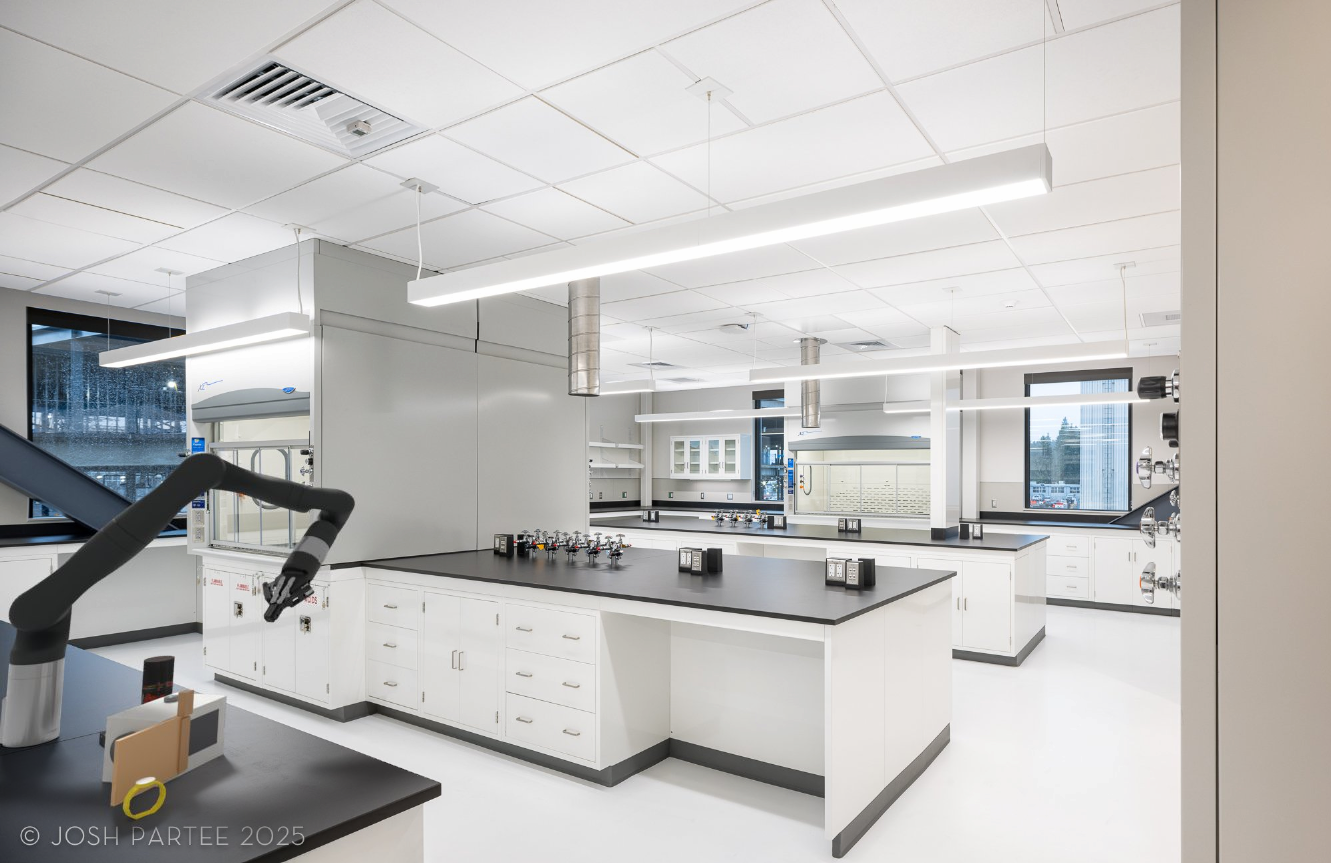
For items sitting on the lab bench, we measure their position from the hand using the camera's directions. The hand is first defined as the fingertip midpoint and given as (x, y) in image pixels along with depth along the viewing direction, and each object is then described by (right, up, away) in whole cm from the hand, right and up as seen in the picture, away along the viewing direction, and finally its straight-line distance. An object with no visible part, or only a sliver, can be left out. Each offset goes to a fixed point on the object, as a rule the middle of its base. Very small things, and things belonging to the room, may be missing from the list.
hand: (268, 620), depth 160 cm
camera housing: (-10, -24, -19) cm, 33 cm away
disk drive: (-24, -26, -7) cm, 36 cm away
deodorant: (-29, -26, +5) cm, 39 cm away
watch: (+1, -23, -39) cm, 45 cm away
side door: (-4, -23, -31) cm, 38 cm away
